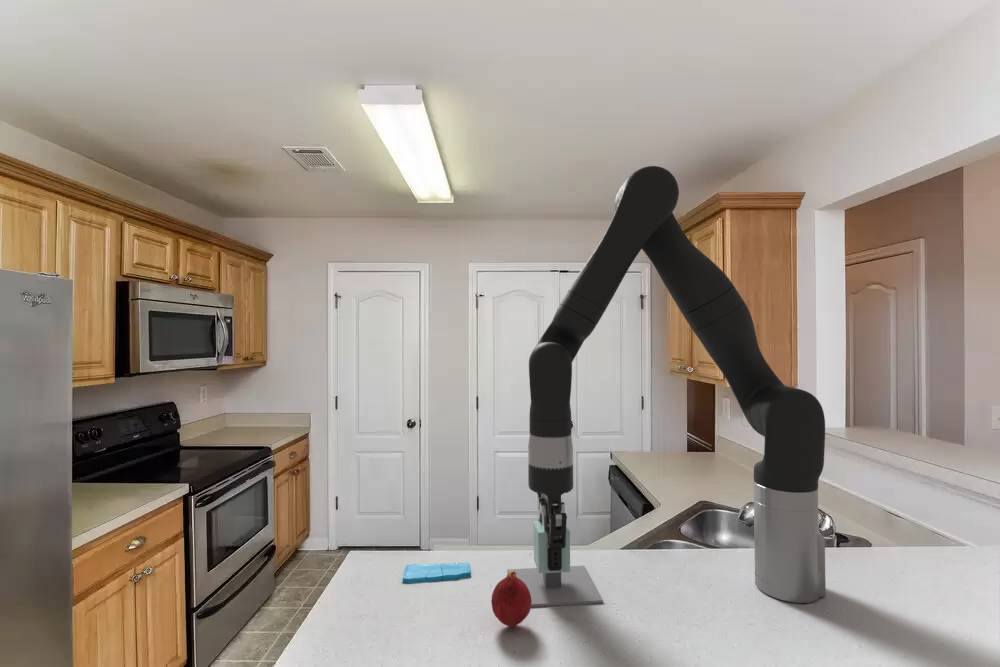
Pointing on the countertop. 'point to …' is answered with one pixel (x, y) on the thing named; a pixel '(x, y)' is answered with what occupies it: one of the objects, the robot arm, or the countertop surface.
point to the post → (552, 580)
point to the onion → (511, 600)
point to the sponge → (435, 572)
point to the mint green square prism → (541, 549)
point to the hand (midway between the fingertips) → (551, 561)
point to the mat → (572, 590)
